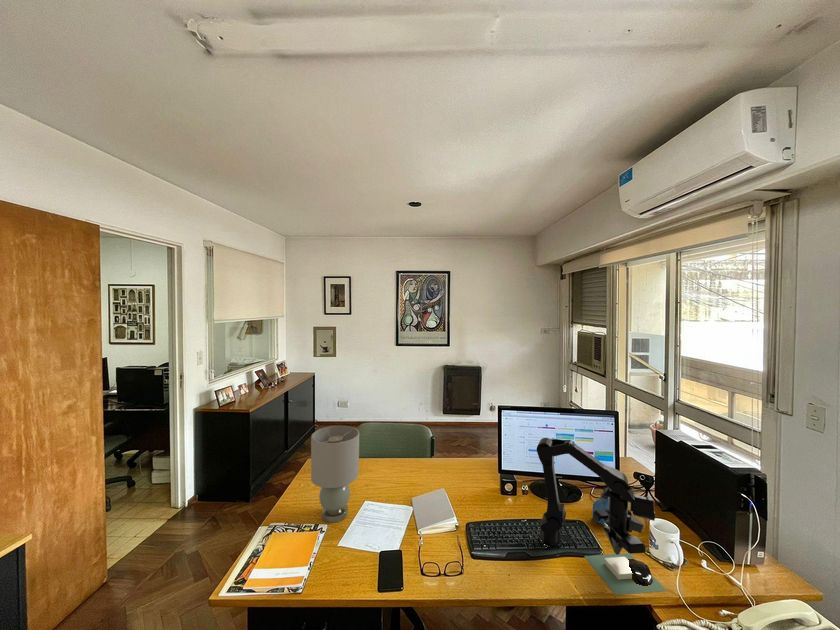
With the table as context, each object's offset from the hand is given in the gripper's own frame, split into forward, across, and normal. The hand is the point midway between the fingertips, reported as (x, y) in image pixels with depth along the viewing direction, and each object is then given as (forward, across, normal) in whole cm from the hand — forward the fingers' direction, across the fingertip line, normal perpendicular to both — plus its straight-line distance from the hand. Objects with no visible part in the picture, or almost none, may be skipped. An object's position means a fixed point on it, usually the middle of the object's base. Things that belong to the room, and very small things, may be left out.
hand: (616, 553), depth 113 cm
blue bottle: (+5, +23, -12) cm, 26 cm away
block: (+3, +1, 0) cm, 3 cm away
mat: (+4, -3, 0) cm, 5 cm away
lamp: (+5, +37, +103) cm, 110 cm away
